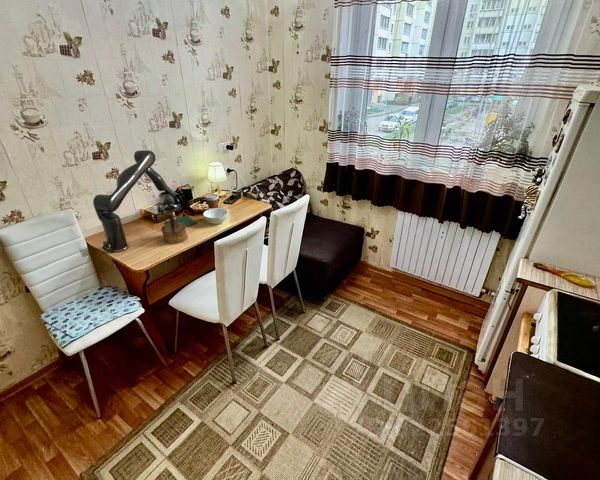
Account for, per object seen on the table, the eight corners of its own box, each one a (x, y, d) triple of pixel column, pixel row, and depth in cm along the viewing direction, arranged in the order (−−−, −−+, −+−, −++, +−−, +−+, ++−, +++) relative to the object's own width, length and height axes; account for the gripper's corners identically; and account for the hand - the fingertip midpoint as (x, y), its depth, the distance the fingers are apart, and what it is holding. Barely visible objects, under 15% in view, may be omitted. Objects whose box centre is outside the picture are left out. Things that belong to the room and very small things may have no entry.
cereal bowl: (200, 221, 216) (198, 211, 213) (221, 215, 226) (220, 206, 223) (211, 229, 205) (210, 219, 202) (233, 222, 215) (232, 213, 212)
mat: (174, 230, 203) (174, 229, 202) (165, 222, 213) (164, 221, 213) (196, 223, 212) (196, 223, 212) (186, 216, 222) (186, 215, 222)
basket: (164, 245, 185) (162, 234, 181) (163, 236, 195) (161, 225, 192) (188, 241, 190) (186, 230, 186) (185, 232, 200) (184, 222, 197)
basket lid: (161, 236, 181) (158, 220, 176) (160, 226, 192) (157, 211, 187) (187, 231, 186) (184, 216, 181) (184, 222, 198) (182, 207, 193)
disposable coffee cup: (220, 212, 229) (218, 197, 224) (206, 213, 228) (204, 198, 222) (220, 208, 238) (218, 193, 232) (207, 208, 236) (205, 194, 230)
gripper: (155, 199, 199) (156, 208, 186) (178, 196, 205) (181, 205, 192) (158, 210, 203) (159, 219, 190) (180, 207, 208) (183, 216, 195)
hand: (170, 212), depth 191 cm, fingers open, 8 cm apart
